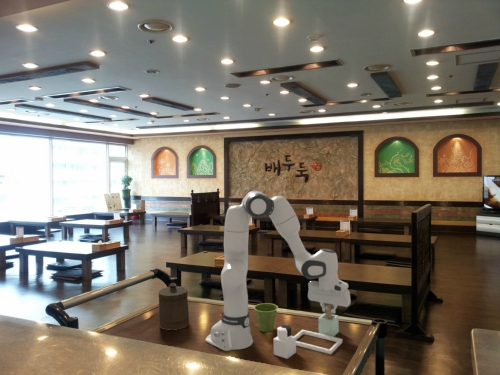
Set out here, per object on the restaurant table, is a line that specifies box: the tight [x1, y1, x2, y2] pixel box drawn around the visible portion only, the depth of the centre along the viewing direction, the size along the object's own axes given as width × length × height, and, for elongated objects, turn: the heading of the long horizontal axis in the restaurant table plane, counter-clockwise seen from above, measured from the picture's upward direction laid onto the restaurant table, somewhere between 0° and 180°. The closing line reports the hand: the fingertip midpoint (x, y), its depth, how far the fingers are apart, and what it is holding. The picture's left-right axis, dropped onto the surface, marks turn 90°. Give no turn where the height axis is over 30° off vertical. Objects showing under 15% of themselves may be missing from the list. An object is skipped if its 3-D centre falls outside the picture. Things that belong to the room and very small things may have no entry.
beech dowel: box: [325, 303, 333, 320], centre depth 195 cm, size 3×3×14 cm
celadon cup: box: [317, 312, 340, 337], centre depth 196 cm, size 7×7×9 cm
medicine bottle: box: [272, 324, 297, 360], centre depth 179 cm, size 7×7×12 cm
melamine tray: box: [294, 329, 343, 357], centre depth 187 cm, size 20×13×2 cm, turn 56°
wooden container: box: [158, 282, 190, 331], centre depth 213 cm, size 15×15×22 cm
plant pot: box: [253, 302, 279, 333], centre depth 205 cm, size 12×12×11 cm
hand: (328, 312), depth 195 cm, fingers closed on beech dowel, 3 cm apart
